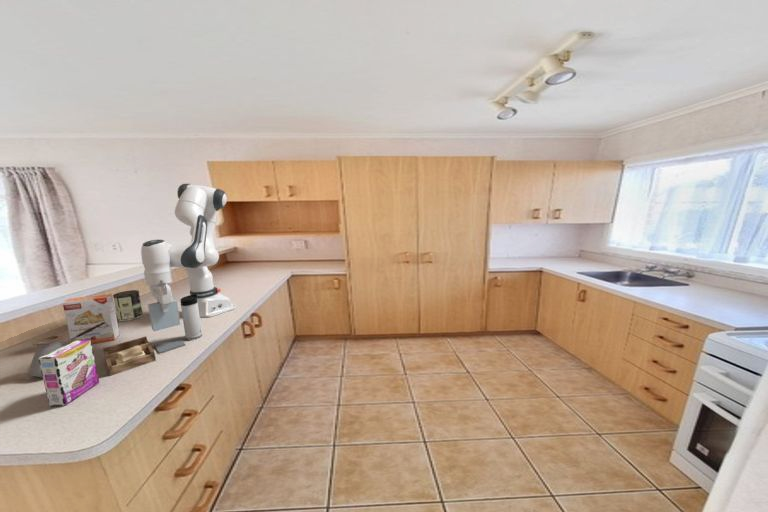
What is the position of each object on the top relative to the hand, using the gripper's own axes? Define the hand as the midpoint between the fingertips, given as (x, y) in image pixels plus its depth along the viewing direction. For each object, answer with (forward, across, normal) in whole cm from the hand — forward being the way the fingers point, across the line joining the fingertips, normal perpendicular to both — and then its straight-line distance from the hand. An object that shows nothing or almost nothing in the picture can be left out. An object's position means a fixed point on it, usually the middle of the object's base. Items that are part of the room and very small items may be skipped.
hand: (163, 309), depth 115 cm
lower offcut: (+17, -6, +13) cm, 22 cm away
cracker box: (+17, +30, +20) cm, 40 cm away
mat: (+17, 0, 0) cm, 17 cm away
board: (+8, 0, 0) cm, 8 cm away
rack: (+17, -2, +13) cm, 21 cm away
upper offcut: (+14, -6, +13) cm, 20 cm away
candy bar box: (+17, -15, +27) cm, 35 cm away
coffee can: (+17, +54, +6) cm, 57 cm away
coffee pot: (+17, +9, +27) cm, 34 cm away
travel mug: (+17, +1, -10) cm, 19 cm away
